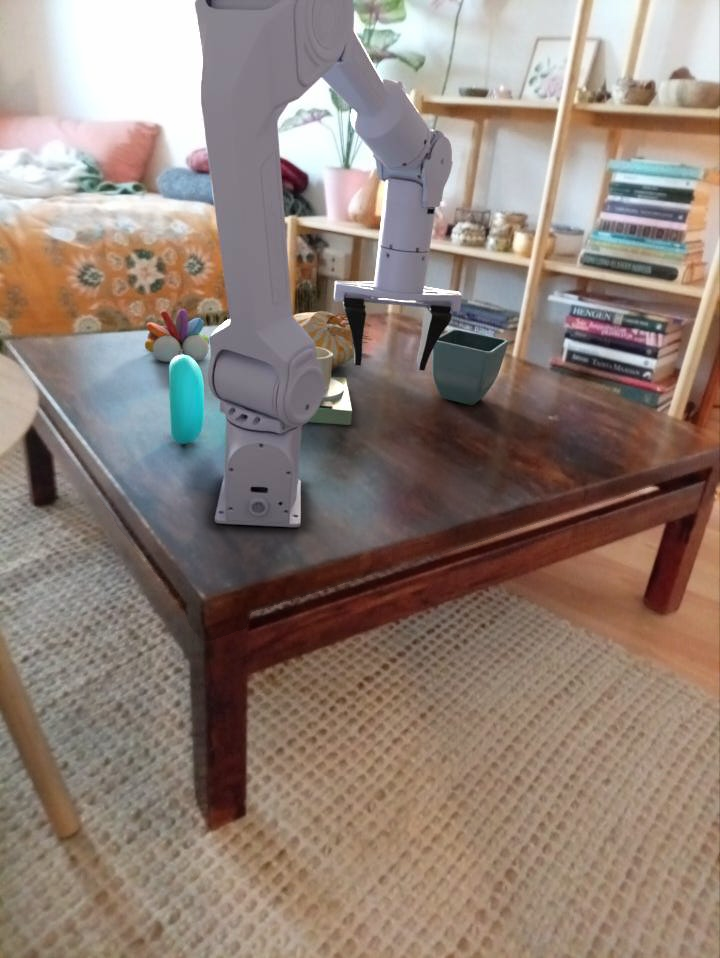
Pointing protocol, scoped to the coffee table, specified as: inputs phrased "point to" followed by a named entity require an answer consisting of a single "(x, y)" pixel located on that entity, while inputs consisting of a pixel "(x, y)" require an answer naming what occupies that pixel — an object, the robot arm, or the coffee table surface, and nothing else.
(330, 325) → the nautilus
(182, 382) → the teal upright capsule
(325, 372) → the white cup
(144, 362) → the coffee table surface
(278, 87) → the robot arm
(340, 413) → the scale
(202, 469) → the coffee table surface
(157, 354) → the rainbow peacock toy
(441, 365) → the flower pot
